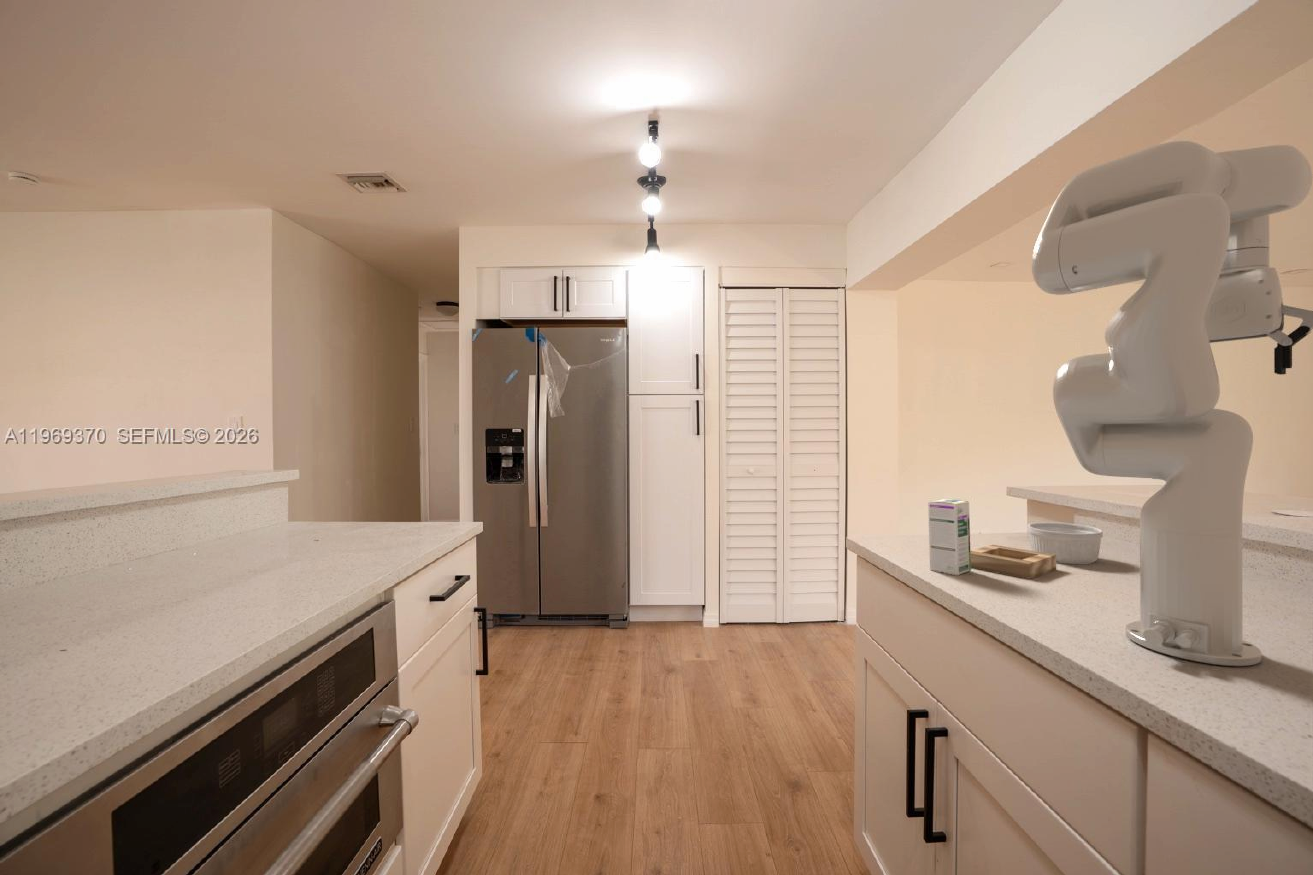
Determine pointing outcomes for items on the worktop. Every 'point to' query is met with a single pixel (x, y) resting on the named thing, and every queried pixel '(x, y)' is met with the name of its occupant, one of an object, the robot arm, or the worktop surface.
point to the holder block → (1013, 561)
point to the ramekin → (1066, 541)
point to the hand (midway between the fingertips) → (1232, 377)
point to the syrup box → (949, 536)
